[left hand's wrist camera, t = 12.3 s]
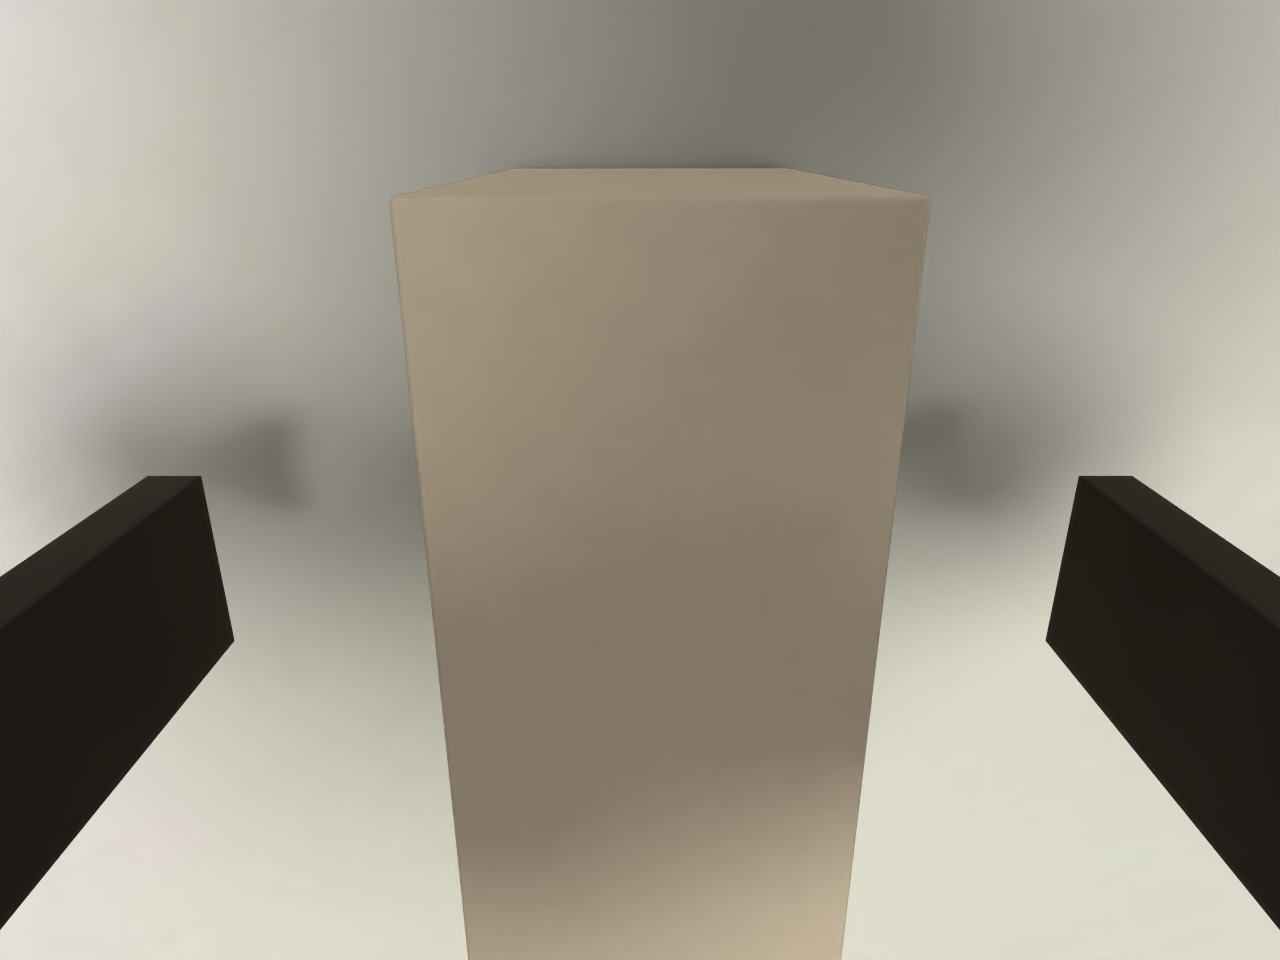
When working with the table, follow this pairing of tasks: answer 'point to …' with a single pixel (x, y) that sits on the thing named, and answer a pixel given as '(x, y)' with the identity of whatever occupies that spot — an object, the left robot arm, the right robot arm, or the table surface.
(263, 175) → the table surface
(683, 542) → the beam
